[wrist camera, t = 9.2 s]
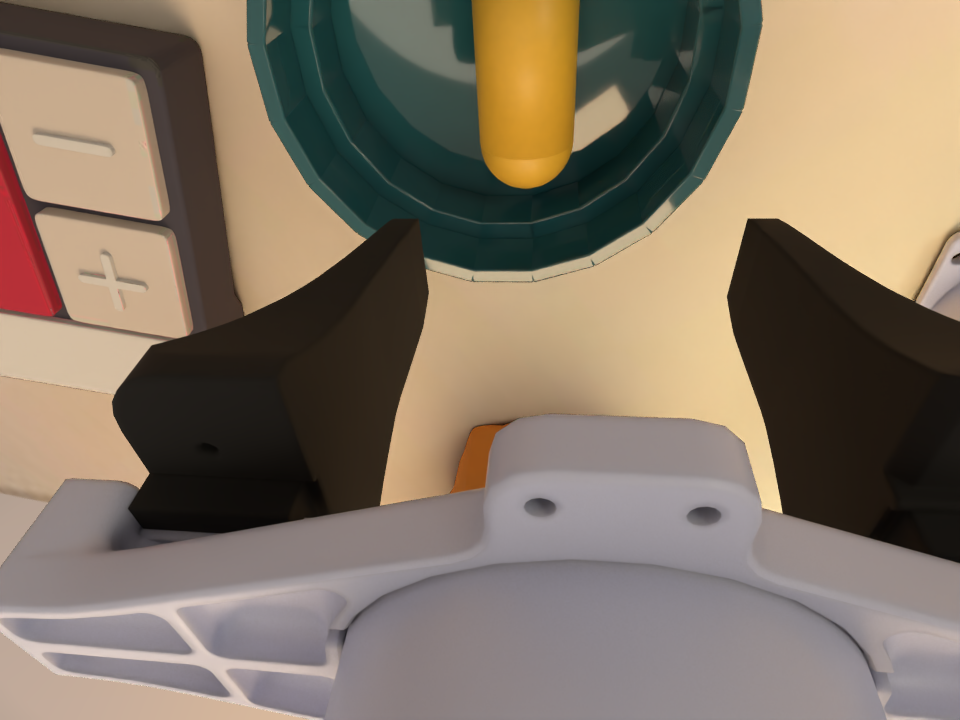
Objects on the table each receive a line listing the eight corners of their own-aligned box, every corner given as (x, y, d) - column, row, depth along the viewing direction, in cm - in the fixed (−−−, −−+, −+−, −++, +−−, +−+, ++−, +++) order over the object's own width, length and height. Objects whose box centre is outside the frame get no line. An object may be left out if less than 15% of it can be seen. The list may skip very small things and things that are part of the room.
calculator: (144, 65, 17) (214, 426, 27) (209, 33, 21) (251, 365, 30) (-247, -6, 17) (-35, 385, 27) (-116, -26, 20) (29, 327, 30)
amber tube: (545, 162, 22) (588, 195, 20) (469, 181, 21) (505, 217, 19) (549, -197, 16) (614, -204, 14) (441, -189, 15) (491, -196, 13)
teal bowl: (683, 215, 23) (704, 284, 19) (348, 217, 24) (315, 281, 21) (774, -288, 14) (841, -319, 11) (245, -238, 16) (160, -252, 12)
